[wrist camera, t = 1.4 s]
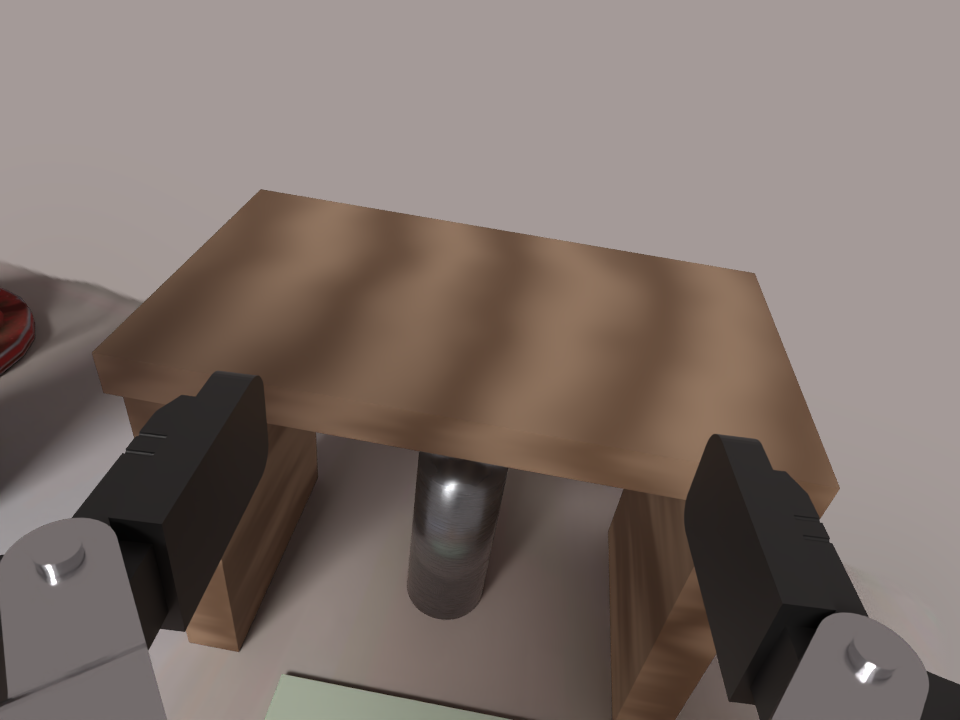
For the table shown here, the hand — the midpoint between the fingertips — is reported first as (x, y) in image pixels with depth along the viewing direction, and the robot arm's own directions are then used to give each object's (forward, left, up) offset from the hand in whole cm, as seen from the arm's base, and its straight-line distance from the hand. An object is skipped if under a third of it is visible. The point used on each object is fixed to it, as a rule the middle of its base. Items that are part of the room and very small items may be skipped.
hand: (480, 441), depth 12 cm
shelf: (-1, +18, -30) cm, 35 cm away
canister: (-1, +18, -30) cm, 35 cm away
